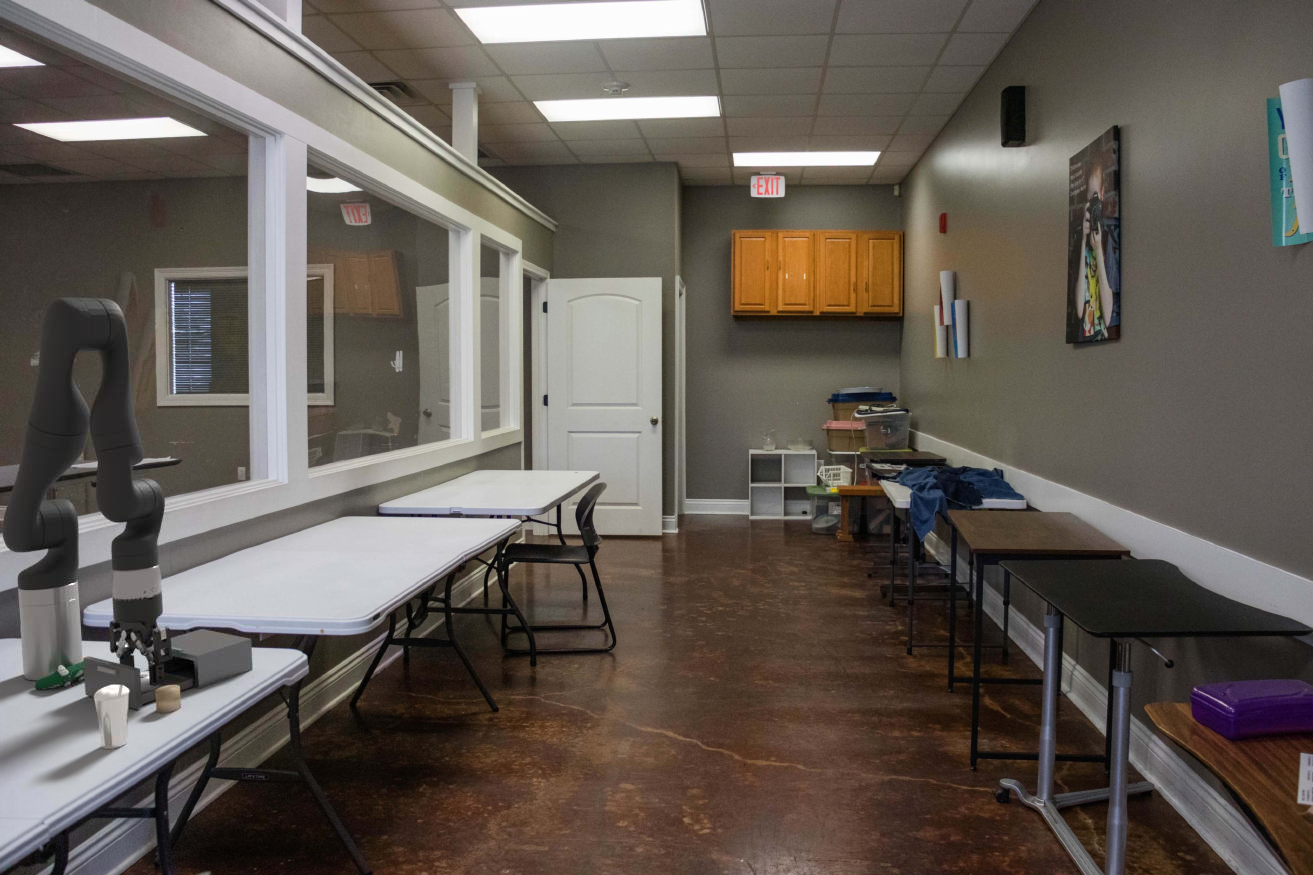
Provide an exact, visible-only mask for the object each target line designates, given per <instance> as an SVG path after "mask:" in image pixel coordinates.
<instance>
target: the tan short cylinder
mask: <svg viewBox="0 0 1313 875" xmlns="http://www.w3.org/2000/svg"><path fill="white" fill-rule="evenodd" d="M155 693H156V700H155V708H156V713H159V714H166V713H172V712H176V711H177V710H180V709H181V707H182V701H181V691H180V686H179V685H167V686H163V687H160V688H158V689H156V690H155Z"/></svg>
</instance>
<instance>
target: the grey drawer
mask: <svg viewBox="0 0 1313 875" xmlns="http://www.w3.org/2000/svg"><path fill="white" fill-rule="evenodd" d="M88 656H89V657H86V656H85V657H83V662H84V678H85V679H84V690H85V692H84V693H85V696H87V697H92V698H94V694H95V693H96V692H97V691H98V690H99V689H102V688H104V687H106V686H109V685H123V686H125V687H127V688H128V689H129V706H128V708H131V709H135V710H138V709H141V708H143V705H144V704H147V703H150V702H153V701H156V693H155V690H156V689H155V690H152V691H148V692H144V693H141V677H140V672H144V671H149V669H146V670H144V671H143V670H142V671H141V668H139V667H136V666H135V667H131V666H127V665H123V664H120V662H114V661H110V660H106V659H101V658H98V657H93V656H90V655H88ZM167 685H179V686H180V692H181V691H184V690H187V689H189V688H192V687H193V686H194V684H193V678H190V677H187V676H183V675H182V676H181V675H178V674H175V673H174V674H173V673H171V672H170V673H169V672H164V682H163V683H162V684H161V686H160V687H163V686H167ZM160 687H159V688H160ZM157 689H158V688H157Z"/></svg>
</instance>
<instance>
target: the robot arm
mask: <svg viewBox="0 0 1313 875" xmlns="http://www.w3.org/2000/svg"><path fill="white" fill-rule="evenodd" d="M41 321H42V322H41V323H42V324H41V330H40V331H41V332H40V341H39V342H40V344H39V357H38V366H37V374H36V381H35V387H34V391H33V392H34V393H33V397H32V401H31V402H32V403H31V406H30V410H29V414H28V419H27V423H26V428H25V432H24V439H23V446H22V450H21V451H22V452H21V456H20V462H19V466H18V471H17V474H16V478H15V480H14V484H13V487H12V491H11V493H10V495H9V499H8V502H7V505H6V507H5V508H6V509H5V512H4V515H3V520H2V539H3V541H4V544H5V547H7V549H8V550H10V551H11V552H14V553H31V552H36V551H43V550H47V552H46V554H45V555H44V556H43V557H42V558H41V559H40V560H38V561H37V562H36V563H33V565H30V566H29V567H27V568H25V569H23V570H21V571H20V572H19V573H18V575H17V592H18V603H19V616H20V617H19V618H20V619H19V620H20V628H19V629H20V639H21V652H22V653H21V655H22V668H23V671H22V672H23V675H24V676H23V677H24V679H25V680H27V681H28V680H29V681H38V680H39V679H41V678H43V677H45V676H48V675H50V674H53V673H55V671H56V670H57V669H58V667H59V666H60V665H62V666H64V667H65V668H67V667H70V666H72V665H75V664H78V663H80V662H83V658H84V656H83V643H82V642H83V641H82V630H81V629H82V628H81V626H82V625H81V614H80V613H81V612H80V596H79V582H78V571H79V567H80V566H79V565H80V558H79V553H80V552H79V551H80V550H79V544H80V543H79V540H80V539H79V537H80V536H79V535H80V534H79V532H80V531H79V529H80V528H79V518H78V513H77V510H76V507H75V506H74V504H73V503H72V502H71V501H70V500H68V499H65V498H55V499H46V500H43V499H44V497H45V495H46V494H47V492H48V491H49V489H50V488H51V487H52V485H54V484H55V483H56V482H57V481H58V480H59V478H61V477H62V476H63V475H64V474H65V473H66V472H67V471H68V470H69V469H70V468H71V467H72V466H73V465H74V464H75V463H76V462H77V461H78V460H79V459H80V457H81V455H82V454H83V453H84V451H85V450H86V446H87V442H88V438H89V433H90V436H91V439H92V445H93V448H94V451H95V455H96V458H97V465H96V466H97V468H96V486H95V498H96V504H97V506H98V509H99V511H100V513H101V514H102V516H103V517H104V518H106V520H108V521H110V522H112V523H114V524H115V523H116V524H118V523H119V524H121V523H122V524H123V523H126V524H125V528H124V530H123V531H122V532H121V533H119V534H118V535H117V536H115V537H114V538H113V539H112V541H111V545H110V548H111V550H110V551H111V553H110V555H111V566H112V567H111V570H112V571H111V572H112V574H111V595H112V596H111V597H112V600H111V601H112V616H113V620H110V621H109V625H108V626H109V650H110V653H111V654H114V653H115V654H116V655H115V656H116V658H118V659H119V664H123V665H127V666H131V667H135V668H136V666H135V655H134V652H135V651H136V650H138V651H139V652H140V655H141V656H143V657H145V658H146V661H147V664H148V663H149V665H150V666H149V669H148V670H149V681H150V685H151V686H156V685H159V684H162V683H163V682H164V662H166V661H169V660H172V647H171V638H172V636H171V628H170V627H169V626H164V627H159V626H158V622H157V620H158V619H159V617H161V616H162V615H163V612H164V608H163V590H162V589H163V588H162V587H163V586H162V575H161V574H162V573H161V570H160V565H159V563H160V561H159V560H160V559H159V547H158V540H159V536H160V533H161V528H162V522H163V520H164V519H163V518H164V514H165V509H166V500H165V499H166V498H165V494H164V491H163V489H162V487H161V486H160V484H158V483H157V481H155V480H153V479H151V478H147V477H145V478H142V477H139V478H135V479H133V470H134V466H136V465H138V464H141V462H142V461H143V460H144V459H145V458H144V457H145V453H144V447H143V445H142V444H143V443H142V438H141V435H140V431H139V426H138V423H137V419H136V414H135V410H134V403H133V395H132V394H133V393H132V391H133V390H132V373H131V361H130V359H131V358H130V347H129V345H130V344H129V332H128V327H127V322H126V318H125V314H124V313H123V311H122V309H121V308H120V306H119V304H118V303H116V302H115V301H113V300H112V299H109V298H103V297H99V298H98V297H97V298H96V297H59V298H58V297H57V298H55V299H53V300H51V301H50V302H49V303H48V305H47V306H46V308H45V310H44V314H43V317H42V320H41ZM81 352H82V353H83V352H98V354H99V357H100V358H99V359H100V361H101V368H102V369H101V370H102V373H101V378H100V379H101V380H100V384H99V388H98V390H97V393H96V395H95V398H94V401H93V404H92V407H91V409H90V408H89V405H88V404H87V402H86V400H85V399H84V396H83V395H82V393H81V391H80V390H79V388H78V386H77V385H76V382H75V380H74V364H75V359H76V357H77V354H78V353H81ZM118 640H119V641H118ZM117 641H118V643H117ZM152 645H153V647H151V646H152ZM149 647H150V648H149ZM164 648H165V654H164V652H163V650H162V649H164ZM152 653H154V657H155V658H154V657H153V655H152Z"/></svg>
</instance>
